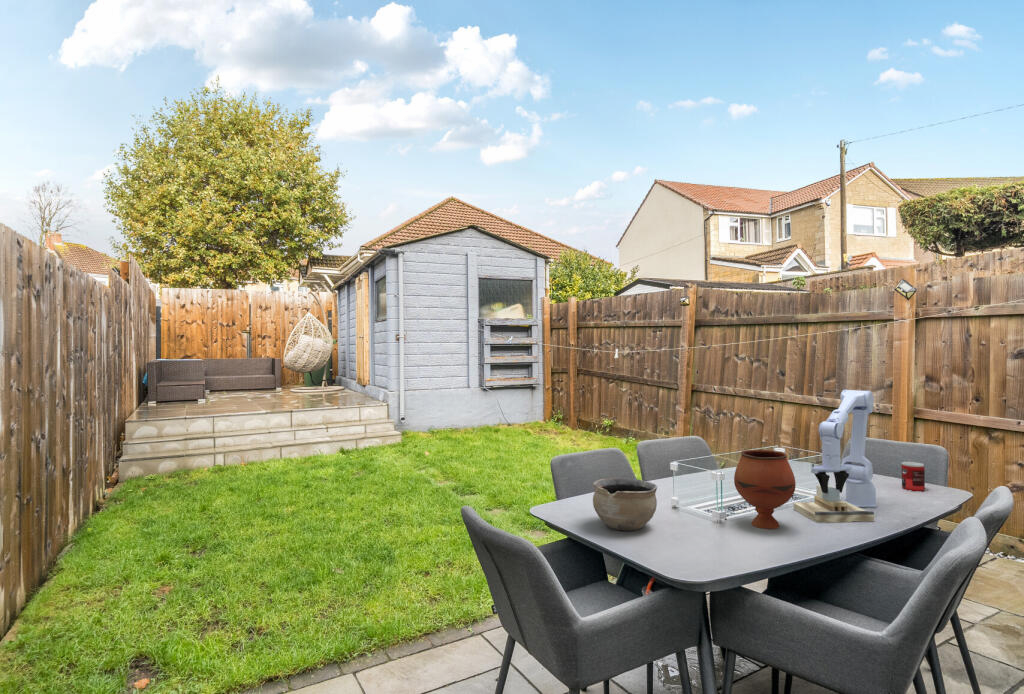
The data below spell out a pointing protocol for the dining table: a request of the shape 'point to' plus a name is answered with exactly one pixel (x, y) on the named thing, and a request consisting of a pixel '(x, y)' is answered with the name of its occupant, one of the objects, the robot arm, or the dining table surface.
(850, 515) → the dock
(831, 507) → the pallet
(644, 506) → the ceramic bowl
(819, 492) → the cream cube
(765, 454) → the goblet
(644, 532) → the dining table surface
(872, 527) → the dining table surface
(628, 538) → the dining table surface
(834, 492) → the pale grey cube
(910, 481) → the canned food
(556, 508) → the dining table surface
